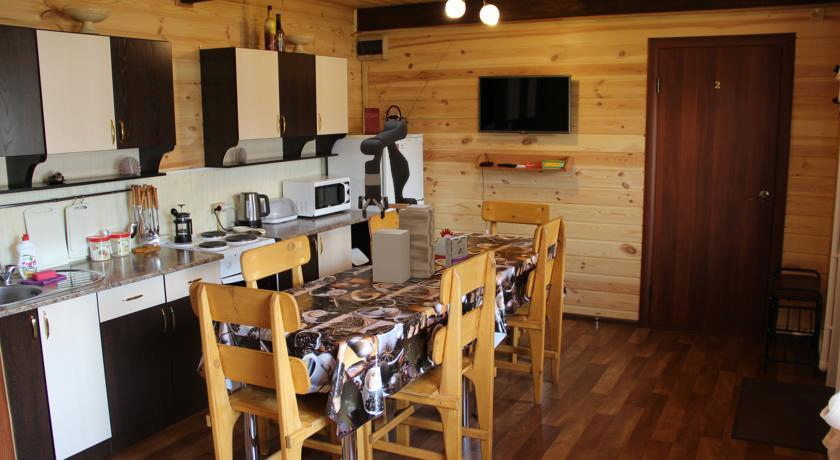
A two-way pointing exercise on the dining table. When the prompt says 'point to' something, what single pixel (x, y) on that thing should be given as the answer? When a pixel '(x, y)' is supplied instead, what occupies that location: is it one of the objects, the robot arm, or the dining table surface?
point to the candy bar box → (456, 250)
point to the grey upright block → (391, 255)
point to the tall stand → (420, 241)
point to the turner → (410, 207)
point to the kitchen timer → (442, 244)
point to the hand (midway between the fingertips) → (373, 218)
